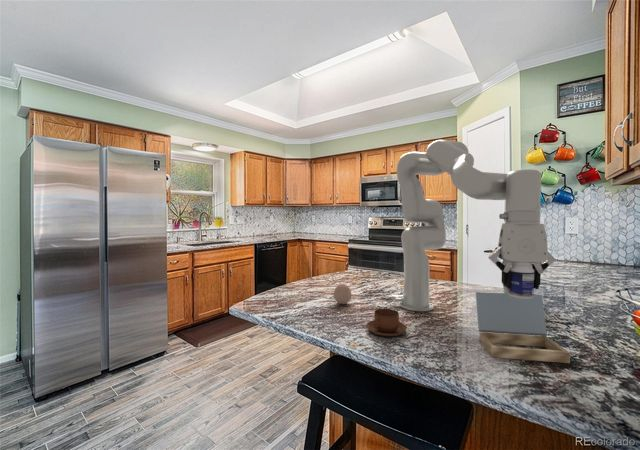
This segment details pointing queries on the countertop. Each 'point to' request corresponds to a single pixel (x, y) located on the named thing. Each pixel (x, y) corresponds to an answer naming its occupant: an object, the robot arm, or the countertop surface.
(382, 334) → the cup and saucer
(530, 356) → the hinged lid wooden box
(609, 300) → the countertop surface
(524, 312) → the cover
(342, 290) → the egg
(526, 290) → the pill bottle
